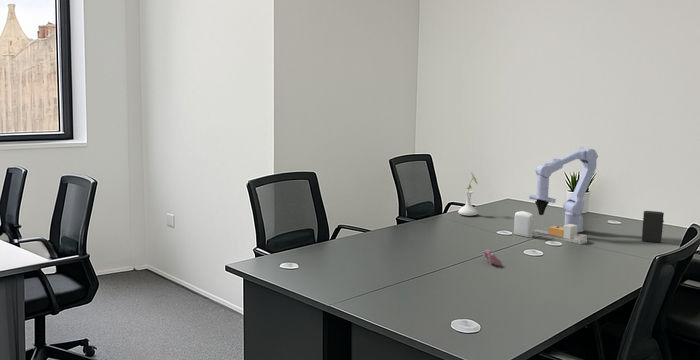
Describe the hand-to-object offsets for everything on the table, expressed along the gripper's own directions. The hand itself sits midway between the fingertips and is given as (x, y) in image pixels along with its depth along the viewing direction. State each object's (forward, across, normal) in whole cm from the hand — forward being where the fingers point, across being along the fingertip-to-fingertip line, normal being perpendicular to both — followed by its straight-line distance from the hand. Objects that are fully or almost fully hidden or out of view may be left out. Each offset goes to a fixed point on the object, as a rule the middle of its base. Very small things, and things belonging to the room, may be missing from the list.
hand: (541, 214), depth 354 cm
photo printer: (+10, -1, -13) cm, 16 cm away
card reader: (+10, +45, +28) cm, 54 cm away
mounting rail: (+9, +12, -3) cm, 16 cm away
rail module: (+8, +19, -3) cm, 21 cm away
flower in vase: (+10, -53, +6) cm, 55 cm away
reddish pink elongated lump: (+10, +23, -68) cm, 73 cm away
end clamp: (+8, +13, -3) cm, 15 cm away
